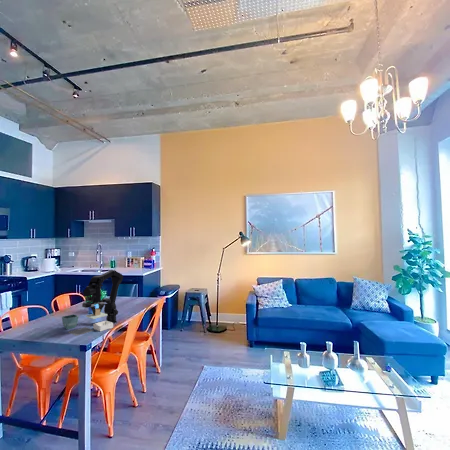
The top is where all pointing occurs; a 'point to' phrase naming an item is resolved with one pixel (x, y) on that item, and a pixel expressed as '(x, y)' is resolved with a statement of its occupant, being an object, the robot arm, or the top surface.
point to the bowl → (103, 325)
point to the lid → (97, 314)
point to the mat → (80, 331)
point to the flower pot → (70, 321)
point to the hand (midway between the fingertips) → (96, 314)
